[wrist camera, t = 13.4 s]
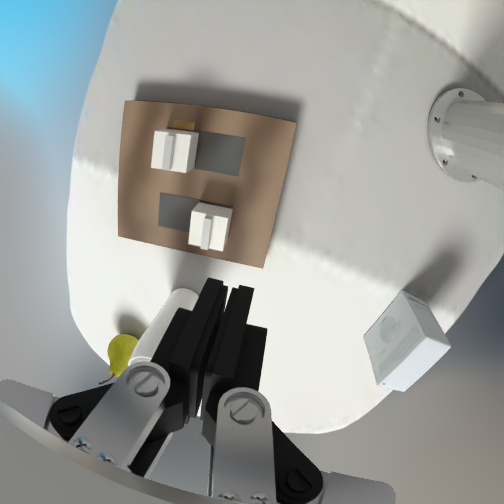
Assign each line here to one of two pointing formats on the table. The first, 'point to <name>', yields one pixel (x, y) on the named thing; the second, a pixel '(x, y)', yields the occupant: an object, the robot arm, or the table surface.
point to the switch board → (203, 177)
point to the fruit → (120, 353)
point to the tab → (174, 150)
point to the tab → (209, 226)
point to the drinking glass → (162, 324)
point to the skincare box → (404, 342)
